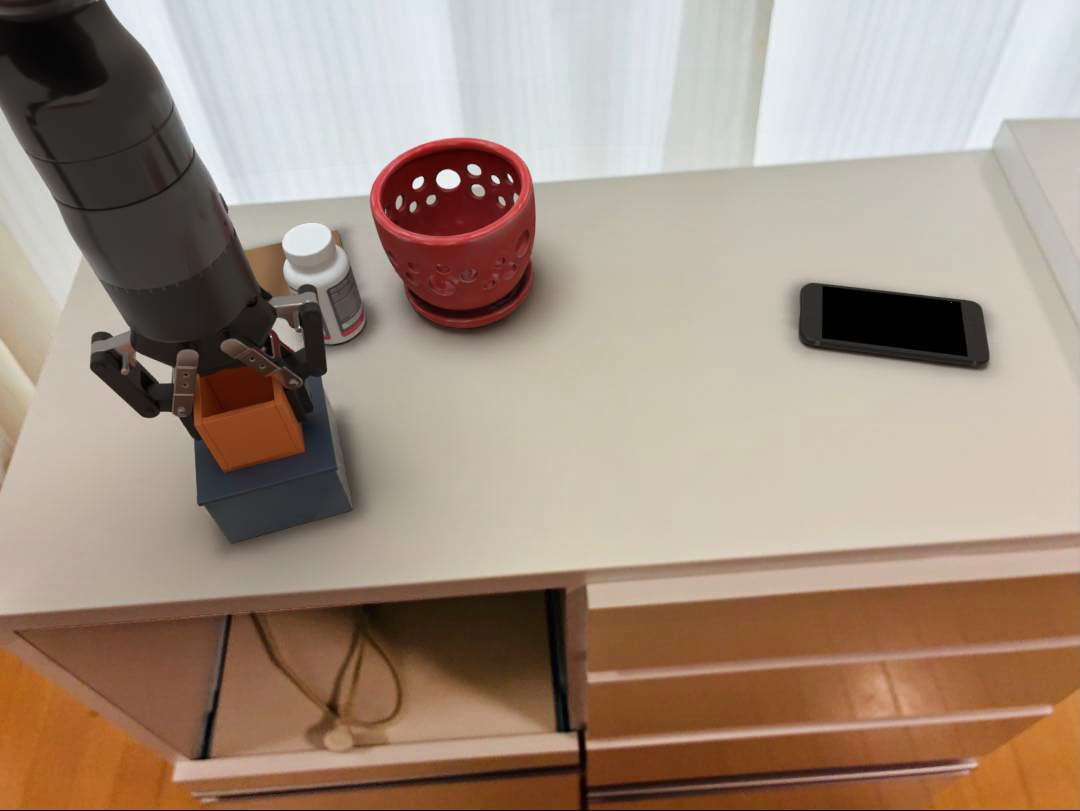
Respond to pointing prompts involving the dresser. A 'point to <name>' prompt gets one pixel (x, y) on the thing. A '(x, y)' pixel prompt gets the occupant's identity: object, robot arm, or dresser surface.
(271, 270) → the cork mat
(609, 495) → the dresser surface
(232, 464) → the orange tub
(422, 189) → the flower pot
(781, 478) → the dresser surface
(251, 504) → the blue tin
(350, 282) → the pill bottle
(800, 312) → the smartphone
